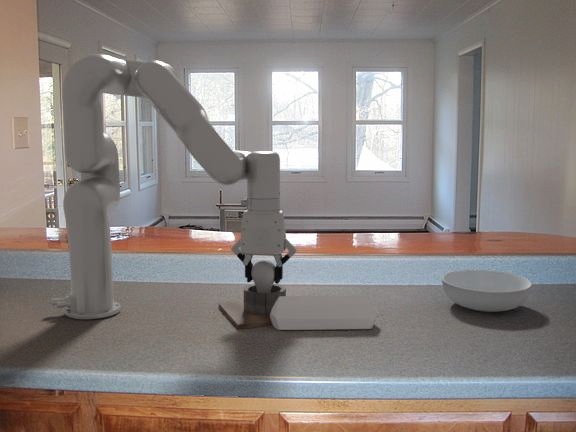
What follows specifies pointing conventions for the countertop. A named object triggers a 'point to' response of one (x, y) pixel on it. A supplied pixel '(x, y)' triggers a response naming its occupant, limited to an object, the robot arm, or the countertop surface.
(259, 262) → the lightbulb
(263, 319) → the socket
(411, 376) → the countertop surface
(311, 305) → the crystal
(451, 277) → the serving bowl
